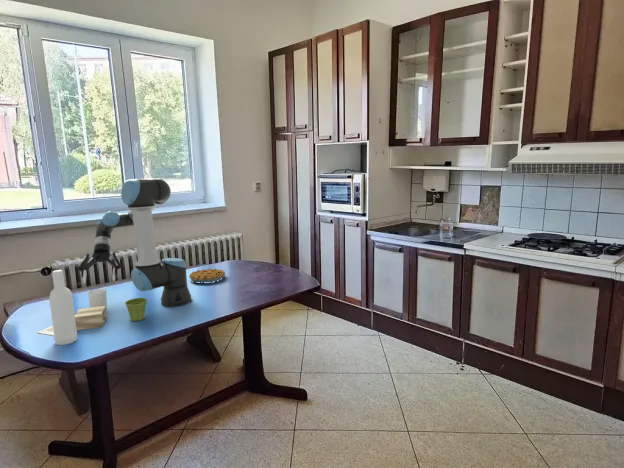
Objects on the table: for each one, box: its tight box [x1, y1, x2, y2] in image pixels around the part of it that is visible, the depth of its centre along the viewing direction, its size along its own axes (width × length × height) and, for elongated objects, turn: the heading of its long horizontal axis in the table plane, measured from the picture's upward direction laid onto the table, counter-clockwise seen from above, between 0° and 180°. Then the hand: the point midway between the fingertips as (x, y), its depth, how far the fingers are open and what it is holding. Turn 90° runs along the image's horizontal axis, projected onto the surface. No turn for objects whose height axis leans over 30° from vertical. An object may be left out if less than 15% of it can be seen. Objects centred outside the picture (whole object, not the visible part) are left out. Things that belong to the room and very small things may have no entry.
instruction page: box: [36, 325, 54, 337], centre depth 171 cm, size 12×9×1 cm
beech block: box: [74, 306, 108, 331], centre depth 178 cm, size 11×11×6 cm
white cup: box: [87, 288, 108, 311], centre depth 193 cm, size 8×8×10 cm
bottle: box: [48, 269, 78, 346], centre depth 159 cm, size 8×8×30 cm
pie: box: [188, 268, 226, 283], centre depth 244 cm, size 22×22×5 cm
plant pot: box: [124, 297, 148, 322], centre depth 183 cm, size 9×9×9 cm
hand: (99, 281), depth 200 cm, fingers open, 13 cm apart
